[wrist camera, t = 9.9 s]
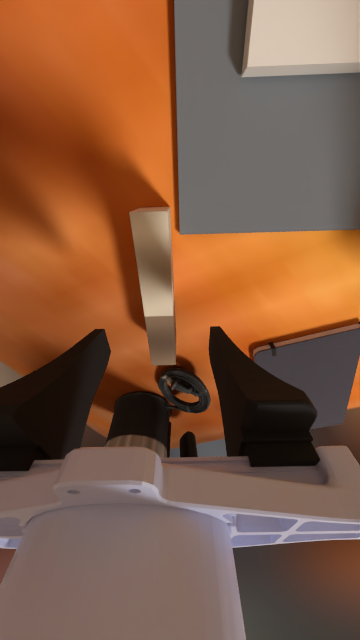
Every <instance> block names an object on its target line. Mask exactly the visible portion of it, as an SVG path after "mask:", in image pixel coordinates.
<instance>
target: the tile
mask: <svg viewBox="0 0 360 640" xmlns="http://www.w3.org/2000/svg"><path fill="white" fill-rule="evenodd" d="M335 73H360V0H249V2H248V12H247V23H246V34H245V45H244V55H243V66H242V77H261V76H286V75H311V74H335Z"/></svg>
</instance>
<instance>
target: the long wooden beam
mask: <svg viewBox="0 0 360 640" xmlns="http://www.w3.org/2000/svg"><path fill="white" fill-rule="evenodd" d="M129 215H130V221H131V228H132V235H133V242H134V248H135V255H136V262H137V269H138V275H139V282H140V289H141V296H142V303H143V309H144V316H145V323H146V330H147V336H148V343H149V350H150V357H151V363H152V365H176V323H175V302H174V281H173V260H172V238H171V217H170V207H145V208H138V209H136V210H134V211H131V212H129Z"/></svg>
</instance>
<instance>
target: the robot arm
mask: <svg viewBox="0 0 360 640" xmlns="http://www.w3.org/2000/svg"><path fill="white" fill-rule="evenodd" d="M110 353H111V350H110V347H109V343H108V340H107V336H106V333H105V329H95V330H93V331H92V332H91V333H89V334H88V335H87V336H86V337H84V338H83V339H82V340H81V341H79V342H78V343H77V344H75V345H74V346H73V347H72V348H70V349H69V350H67V351H66V352H65V353H63V354H62V355H60V356H59V357H57V358H56V359H54V360H53V361H51V362H50V363H48V364H46V365H45V366H43V367H41V368H40V369H38V370H36V371H34V372H32V373H30V374H28V375H26V376H24V377H22V378H20V379H18V380H16V381H14V382H12V383H10V384H7V385H5V386H3V387H0V548H10V549H11V548H12V549H17V550H16V552H15V554H14V557H13V559H12V561H11V563H10V565H9V568H8V570H7V572H6V574H5V577H4V579H3V581H2V583H1V585H0V640H246V636H245V629H244V623H243V617H242V610H241V603H240V598H239V590H238V583H237V577H236V570H235V563H234V557H233V551H232V548H235V547H247V546H258V545H270V544H281V543H293V542H305V541H320V540H339V539H340V540H341V539H360V465H359V464H358V463H357V461H356V460H355V458H354V457H353V455H352V453H351V452H350V450H349V449H348V447H346V446H321V447H318V448H316V449H314V447H313V445H312V443H311V441H312V440H313V438H312V436H311V435H310V432H309V430H310V428H311V426H312V425H313V423H314V422H315V420H316V417H317V410H316V408H315V407H314V405H313V404H312V402H311V400H310V399H309V397H308V396H307V395H306V393H305V392H304V391H302V390H300V389H298V388H296V387H294V386H292V385H290V384H288V383H286V382H284V381H282V380H281V379H279V378H277V377H275V376H274V375H272V374H271V373H269V372H267V371H266V370H265V369H263V368H262V367H260V366H259V365H257V364H256V363H255V362H254V361H252V360H251V359H250V358H249V357H247V356H246V355H245V354H244V353H243V352H242V351H241V350H240V349H239V348H238V347H237V346H236V345H235V344H234V343H233V342H232V341H231V339H230V338H229V337H228V336H227V335H226V334H225V332H224V331H223V330H222V329H221V327H220V326H217V327H210V339H209V356H210V363H211V367H212V371H213V375H214V379H215V382H216V386H217V390H218V395H219V400H220V407H221V413H222V420H223V427H224V435H225V443H226V451H227V457H181V458H160V457H159V456H158V455H157V453H156V452H155V451H153V450H151V449H148V448H145V447H84V448H80V446H81V442H82V438H83V433H84V429H85V425H86V422H87V418H88V415H89V411H90V408H91V405H92V401H93V399H94V396H95V393H96V391H97V388H98V386H99V384H100V381H101V379H102V377H103V374H104V372H105V370H106V367H107V365H108V361H109V357H110Z"/></svg>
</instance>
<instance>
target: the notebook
mask: <svg viewBox="0 0 360 640" xmlns="http://www.w3.org/2000/svg"><path fill="white" fill-rule="evenodd" d="M268 344H269V345H265V346H260V347H257V348H256V349H254V351H253V357H254V362H255V363H256V364H257V365H259V366H260V367H262V368H263V369H265V370H266V371H267V372H269V373H271V374H272V375H274V376H275V377H277V378H279V379H281V380H282V381H284V382H286V383H288V384H290V385H292V386H294V387H296V388H298V389H300V390H302V391H304V392H305V393H306V395H307V396H308V397H309V399H310V400H311V402H312V404H313V405H314V407H315V408H316V410H317V417H316V420H315V422H314V423H313V425H312V426H311V428H310V429H314V428H320V427H326V426H332V425H338V424H343V422H344V418H345V414H346V410H347V406H348V402H349V397H350V393H351V389H352V385H353V381H354V377H355V373H356V369H357V365H358V360H359V356H360V322H359V323H358V324H353V325H349V326H345V327H341V328H336V329H332V330H328V331H324V332H320V333H315V334H311V335H307V336H303V337H298V338H294V339H290V340H286V341H281V342H277V343H273V342H271V343H268Z"/></svg>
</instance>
